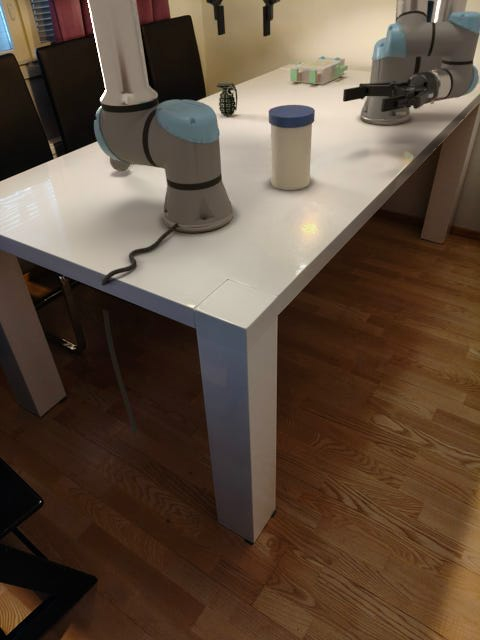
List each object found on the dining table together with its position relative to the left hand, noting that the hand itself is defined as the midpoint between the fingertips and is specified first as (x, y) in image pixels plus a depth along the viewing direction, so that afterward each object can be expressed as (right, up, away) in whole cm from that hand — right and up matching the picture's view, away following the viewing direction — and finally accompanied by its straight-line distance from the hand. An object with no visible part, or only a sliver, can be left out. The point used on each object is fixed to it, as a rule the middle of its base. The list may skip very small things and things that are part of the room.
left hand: (243, 35), depth 129 cm
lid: (+11, -29, -19) cm, 36 cm away
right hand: (+28, -23, -13) cm, 39 cm away
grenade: (-5, -5, +40) cm, 41 cm away
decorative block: (+32, +27, +77) cm, 88 cm away
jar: (+11, -42, -9) cm, 44 cm away
